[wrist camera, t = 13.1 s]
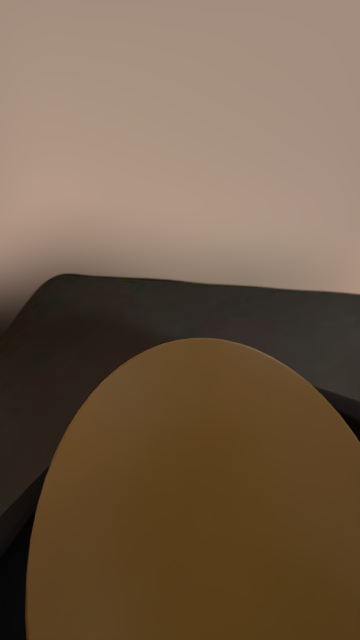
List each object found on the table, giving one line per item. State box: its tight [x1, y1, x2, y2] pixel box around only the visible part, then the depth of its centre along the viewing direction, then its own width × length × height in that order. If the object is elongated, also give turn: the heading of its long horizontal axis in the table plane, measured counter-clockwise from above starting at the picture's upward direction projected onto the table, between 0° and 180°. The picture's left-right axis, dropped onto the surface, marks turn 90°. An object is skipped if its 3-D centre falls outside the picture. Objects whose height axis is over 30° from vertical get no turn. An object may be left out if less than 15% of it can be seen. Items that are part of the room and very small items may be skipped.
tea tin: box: [25, 338, 360, 640], centre depth 8 cm, size 6×6×12 cm
